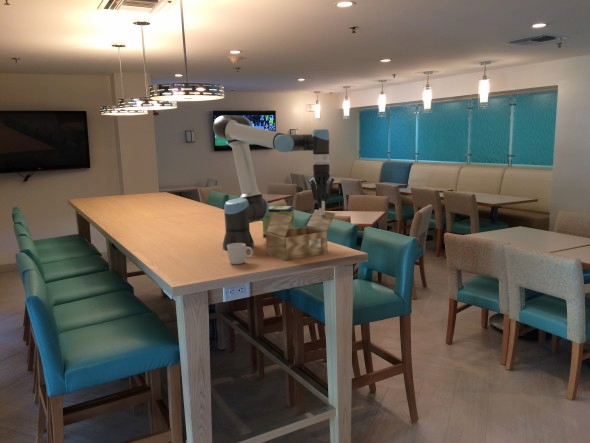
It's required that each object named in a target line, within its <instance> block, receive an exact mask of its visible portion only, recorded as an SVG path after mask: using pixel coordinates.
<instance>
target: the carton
mask: <svg viewBox="0 0 590 443" xmlns="http://www.w3.org/2000/svg"><path fill="white" fill-rule="evenodd" d="M265 238H266V239H265V241H266V242H265V243H266V254H268V255H270V256H272V257H275V258H277V259H280V260H283V261H284V262H286V261H292V260H293V261H294V260H298V259H303V258H304V259H305V258H310V257H313V256H314V257H315V255H316V256H321V255H325V254H326V253H327V254H328V231H326V230H322V229H318V228H314V227H310V226H302V227H294V228H292V229H288V231H287V234H286V237H285V236H281V235H278V234H275V233H272V232H266V237H265ZM320 254H321V255H320ZM309 256H310V257H309Z"/></svg>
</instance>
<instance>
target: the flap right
mask: <svg viewBox="0 0 590 443" xmlns="http://www.w3.org/2000/svg"><path fill="white" fill-rule="evenodd" d="M335 215H336V213H335V212H331V211H326V210H325V215H319V209H315V208H314V210H313V213H312V215H311V216H310V218H309V221H308V222H307V224H306V227H311V228H315V229H319V230H323V231H326V232H328V230H329V228H330V226H331V223H332V222H333V219H335V218H334V217H335Z"/></svg>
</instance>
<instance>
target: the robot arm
mask: <svg viewBox="0 0 590 443" xmlns="http://www.w3.org/2000/svg"><path fill="white" fill-rule="evenodd" d="M212 125H213V126H212V130H213V132H214V134H215V136H217V138H219V139H221V140H227V145H228V146H229V147H231V149H232V154H233V158H234V159H233V160H234V164H235V169H236V174H237V178H238V184H239V188H240V193H241V194H240V196H239V198H233V199H228V200H227V201H225V203H224V205H223V207H224V209H223V213H224V227H225V234H224V237H223V241H222V249H223V250H226V251H228V250H227V245H228V244H232V243H244V244H246V246H247V247H251V248H252V249H253V248H254V246H255V245H254V244H255V242H254V239H253V237H252V234H251V231H250V230H251V229H250V224H251V223H252V224H253V223H256V222H260V221H263V219H264V218H265V217H266V216H267V214H268V212H269V205H270V204H269V202H268V201H267V200H266V199H265V198H264V197H263V194H262V192H261V191H259V188H258V183H257V179H256V174H255V168H254V164H253V159H252V154H251V150H250V144H253V145H258V146H261V147H266V148H269V149H275V150H276V151H278V152H281V153H288V152H289V153H290V152H309V151H311V152H312V163H313V165H312V171H313V176H312V178H311V179H308V183H309V184H310V188H311V193H312V197H313V200H315V201H316V202H317V208H318V210H319V215H325V211H326V207H327V201H328V200H329V199H330V198H331V192H332V187H333V183H334V182H335V178H332V177H331V176H330V175H331V174H330V170H331V169H330V168H331V167H330V140H331V139H330V132H329V129H327V128H326V129H325V128H321V129H320V128H317V129H313V130H312V133H310V134H309V133H308V134H306V133H305V134H286V133H283V132H278V131H273V130H269V129H265V128H260V127H257V126H253V124H252V122H251V120H250V119H249V118H248V117H245V116H242V115H227V114H224V115H220V116H218V117H217V118H215V119H214V122H213V124H212Z"/></svg>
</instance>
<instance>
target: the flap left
mask: <svg viewBox="0 0 590 443" xmlns="http://www.w3.org/2000/svg"><path fill="white" fill-rule="evenodd" d="M291 220H292V217H289V216H285V215H281V214H276V213H273V215H272V218H271V221H270V224H269V227H268V229H267V231H268V232H272V233H275V234H278V235H281V236H285V237H286V234H287V231H288V228H289V225H290V223H291Z"/></svg>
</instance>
